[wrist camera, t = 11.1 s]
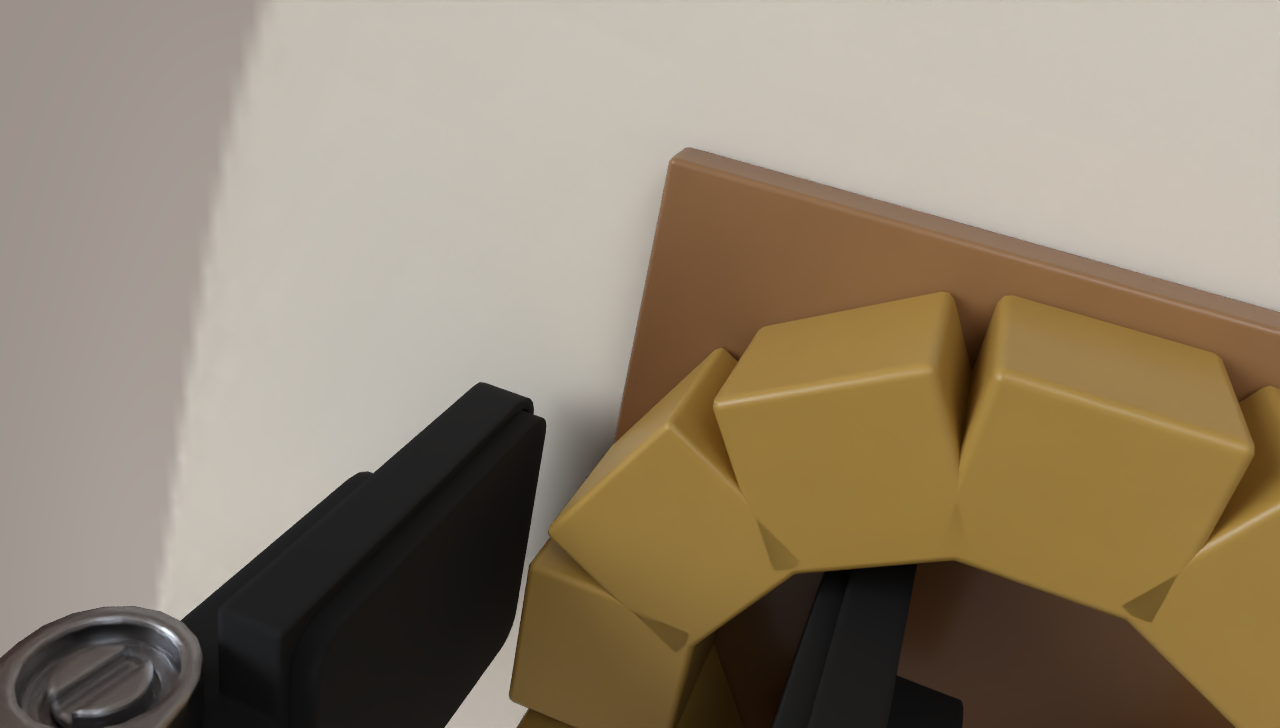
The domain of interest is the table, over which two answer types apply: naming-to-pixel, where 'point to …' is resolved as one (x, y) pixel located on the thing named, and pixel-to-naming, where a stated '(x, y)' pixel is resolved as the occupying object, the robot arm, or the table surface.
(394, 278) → the table surface
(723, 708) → the ring
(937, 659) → the coaster
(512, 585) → the robot arm
